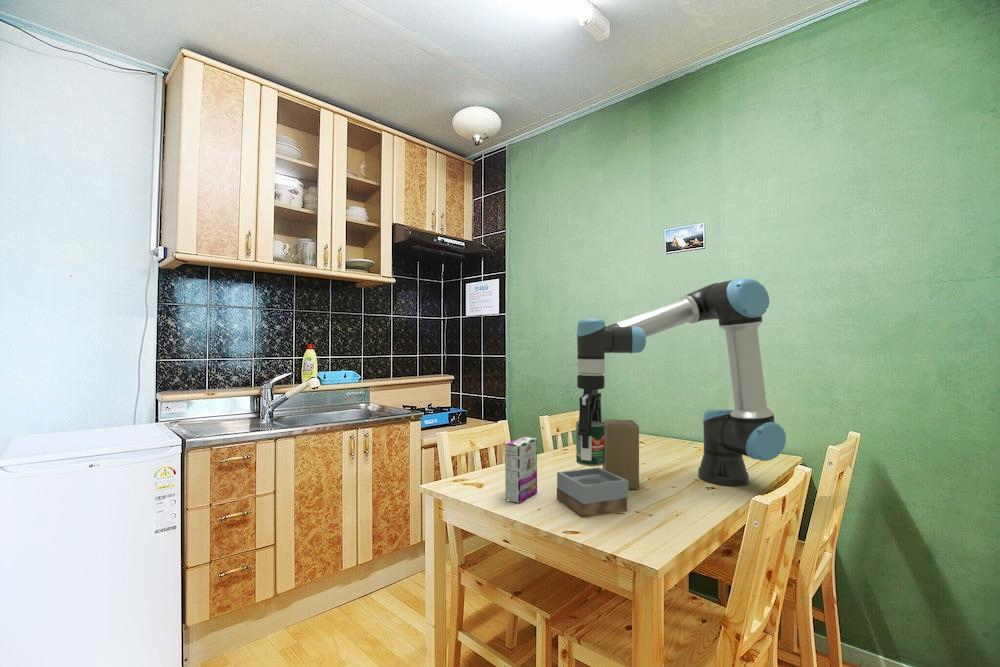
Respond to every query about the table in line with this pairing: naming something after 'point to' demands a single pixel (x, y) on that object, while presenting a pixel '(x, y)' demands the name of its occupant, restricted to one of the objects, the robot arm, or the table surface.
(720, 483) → the robot arm
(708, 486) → the table surface
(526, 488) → the candy bar box
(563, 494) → the walnut block
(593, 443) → the canned tomato
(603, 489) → the slate grey tray
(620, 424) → the block
